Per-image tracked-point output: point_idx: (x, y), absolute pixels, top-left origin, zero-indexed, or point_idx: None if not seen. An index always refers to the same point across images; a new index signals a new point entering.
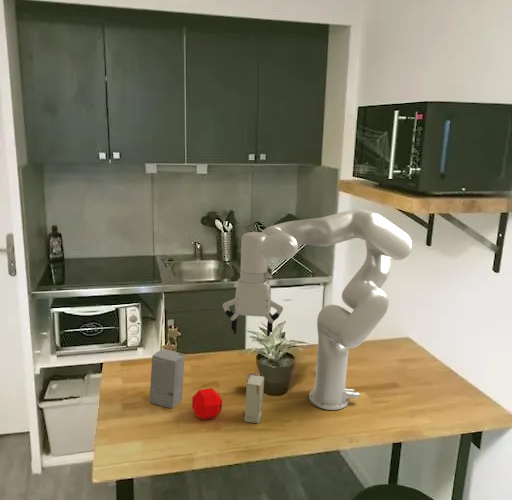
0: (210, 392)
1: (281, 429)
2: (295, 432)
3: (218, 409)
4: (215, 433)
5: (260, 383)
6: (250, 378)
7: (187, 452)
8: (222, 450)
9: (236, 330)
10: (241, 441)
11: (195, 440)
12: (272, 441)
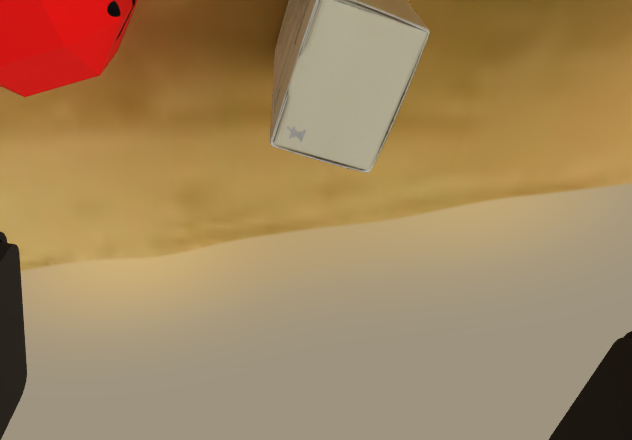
0: (21, 20)
1: (447, 122)
2: (504, 146)
3: (114, 50)
4: (129, 141)
5: (375, 140)
6: (308, 64)
7: (32, 255)
8: (171, 248)
9: (9, 361)
10: (250, 199)
11: (46, 187)
12: (383, 203)
